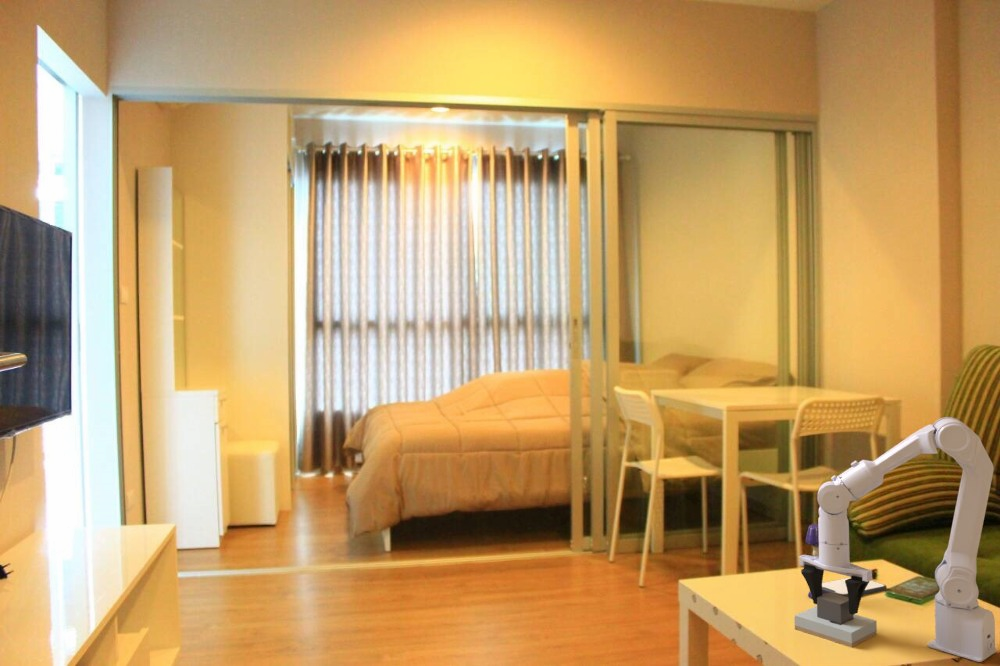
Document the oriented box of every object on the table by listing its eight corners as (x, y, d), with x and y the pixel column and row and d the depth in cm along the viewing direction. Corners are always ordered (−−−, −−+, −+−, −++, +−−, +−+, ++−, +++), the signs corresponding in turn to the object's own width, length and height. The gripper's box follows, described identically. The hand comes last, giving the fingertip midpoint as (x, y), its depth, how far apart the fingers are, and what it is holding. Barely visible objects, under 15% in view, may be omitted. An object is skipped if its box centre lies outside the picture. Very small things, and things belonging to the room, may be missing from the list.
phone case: (857, 581, 187) (811, 590, 180) (857, 575, 187) (811, 584, 180) (889, 592, 179) (842, 602, 172) (889, 585, 179) (842, 595, 172)
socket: (876, 634, 152) (876, 620, 152) (851, 647, 146) (851, 632, 146) (820, 617, 162) (820, 604, 162) (794, 628, 156) (794, 615, 156)
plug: (853, 626, 154) (853, 598, 154) (841, 632, 150) (840, 604, 151) (830, 619, 158) (829, 592, 158) (817, 624, 154) (816, 597, 154)
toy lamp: (830, 601, 171) (829, 528, 171) (808, 600, 172) (807, 527, 172) (825, 594, 176) (824, 523, 176) (804, 593, 177) (803, 522, 177)
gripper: (879, 545, 151) (880, 613, 151) (811, 531, 162) (812, 594, 162) (861, 551, 146) (863, 621, 146) (793, 537, 158) (794, 601, 158)
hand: (835, 608), depth 154 cm, fingers open, 7 cm apart
